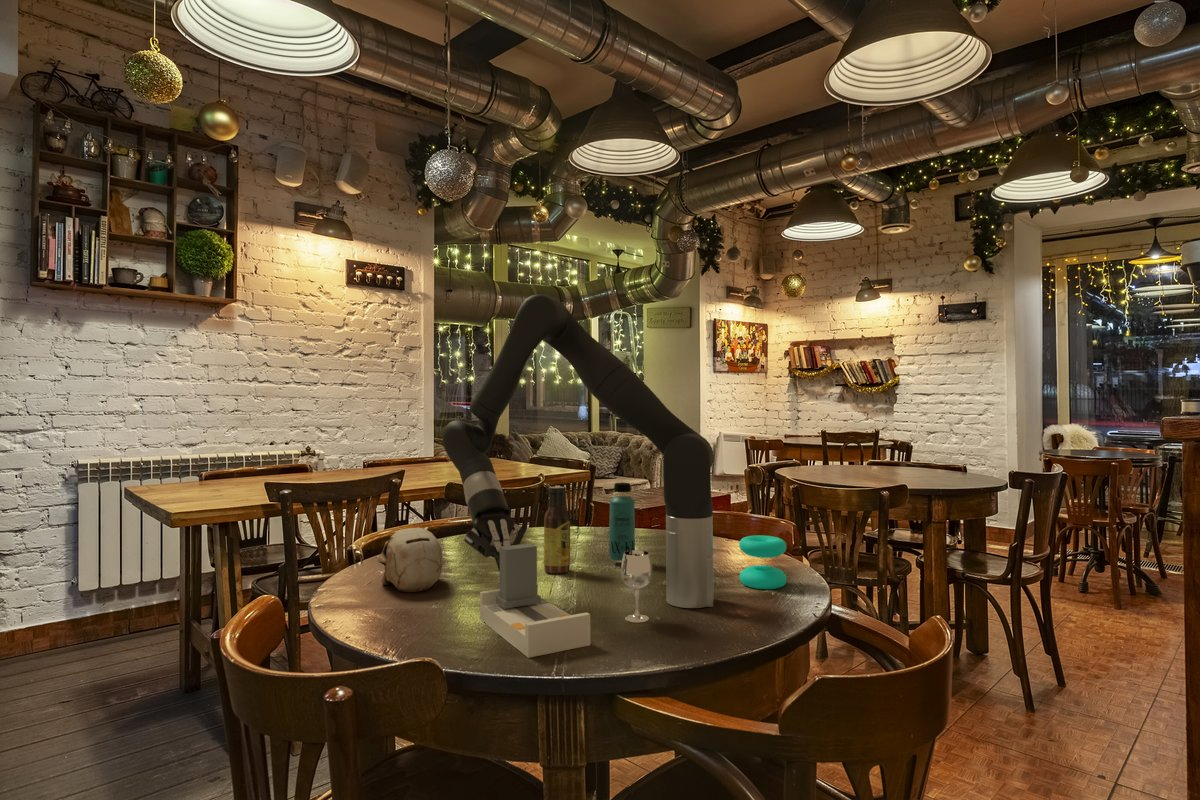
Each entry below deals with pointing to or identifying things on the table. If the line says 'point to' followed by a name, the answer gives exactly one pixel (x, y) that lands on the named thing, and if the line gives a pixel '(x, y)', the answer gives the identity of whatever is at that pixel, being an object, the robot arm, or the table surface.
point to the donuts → (763, 574)
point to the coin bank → (411, 560)
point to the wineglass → (636, 577)
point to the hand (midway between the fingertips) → (508, 572)
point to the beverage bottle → (621, 523)
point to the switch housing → (535, 625)
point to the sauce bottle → (556, 533)
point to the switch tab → (518, 576)
